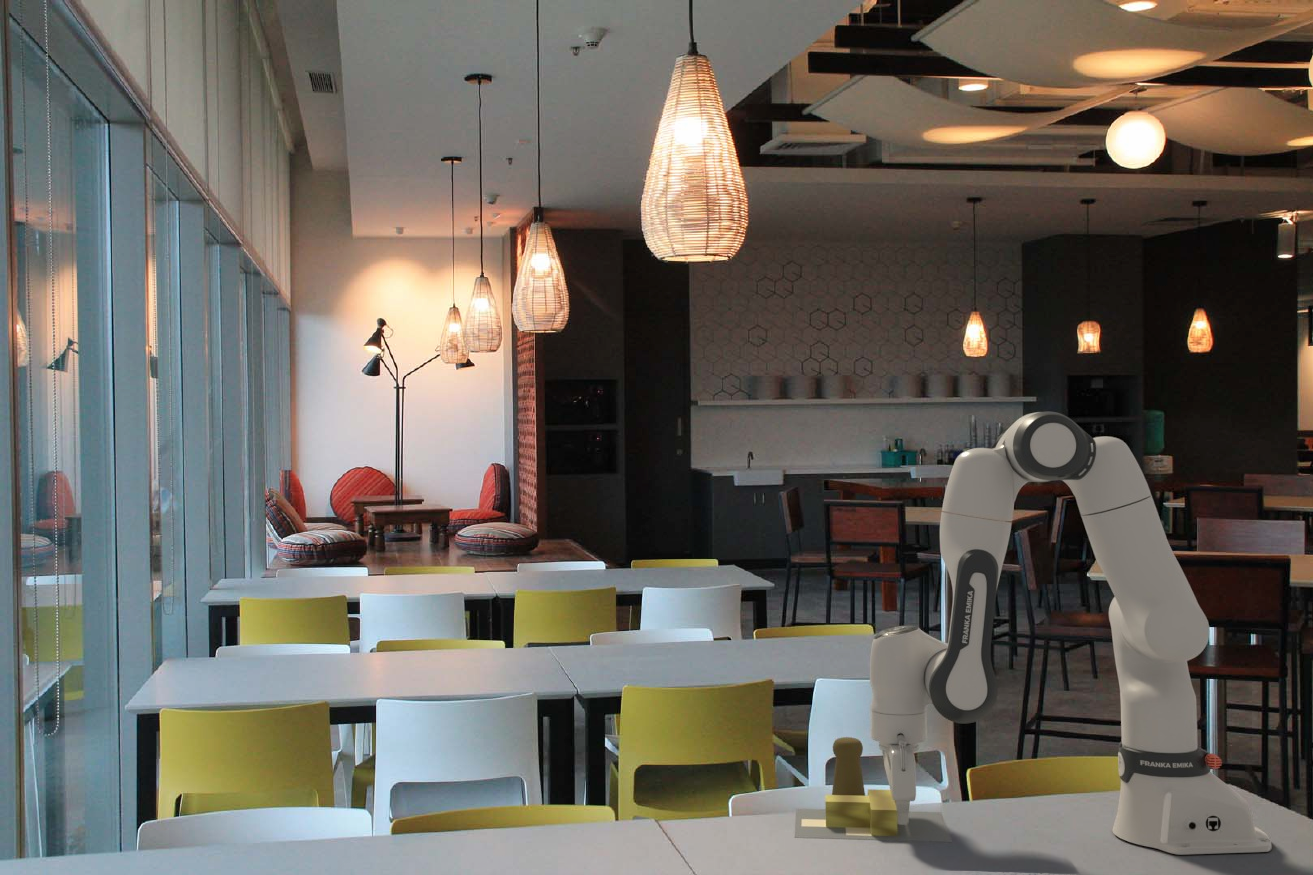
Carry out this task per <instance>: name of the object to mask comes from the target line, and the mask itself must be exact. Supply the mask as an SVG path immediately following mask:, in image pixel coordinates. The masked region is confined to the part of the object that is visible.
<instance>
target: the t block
mask: <svg viewBox="0 0 1313 875" xmlns="http://www.w3.org/2000/svg"><path fill="white" fill-rule="evenodd" d="M824 797H825V798H824V799H825V800H824V802H825V803H824V804H825V806H824V807H825V809H826V827H856V828H870V829H871V835H873V836H898V834H897V810H896V804H895V801H894V800H893V799H892V795H891V791H890V789H874V788H873V789H871V788H869V789H867V795H865V796H855V795H832V794H825V795H824Z"/></svg>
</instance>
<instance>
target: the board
mask: <svg viewBox="0 0 1313 875" xmlns="http://www.w3.org/2000/svg"><path fill="white" fill-rule="evenodd" d="M794 823H795V824H794V838H795V839H796V838H797V839H825V840H827V839H828V840H830V839H831V840H858V841H859V840H862V841H867V840H868V841H900V842H903V841H905V842H929V843H930V842H931V843H932V842H933V843H939V842H940V843H953V839H952V836H951V835H950V832H949V830H948V826H947V823H946V821H945V819H944V816H943V813H942V812H941V811H911V810H909V822H908V824H906V825H901V824H898V823H897V834H898V836H873V835H871V829H870V828H856V827H826V808H825V809H823V808H822V809H821V808H795V822H794Z"/></svg>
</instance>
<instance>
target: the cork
mask: <svg viewBox="0 0 1313 875" xmlns="http://www.w3.org/2000/svg"><path fill="white" fill-rule="evenodd" d="M863 750H864V747H863V744H862V742H861V740H859V739H858V738H855V737H850V736H845V737H839V738H837V739H836V738H835V740H834V742H833V744H832V752H833V754H834V756H835V766H834V772H833V773H834V774H833V783H832V792H831V795H855V796H866V793H865V792H866V791H865V783H864V778H863V777H864V776H863V773H862V765H861V756H862V755H863Z"/></svg>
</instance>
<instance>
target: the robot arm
mask: <svg viewBox="0 0 1313 875" xmlns="http://www.w3.org/2000/svg"><path fill="white" fill-rule="evenodd" d="M1051 481H1062V482H1064V483H1065V484H1066V485H1067V486H1068V487H1069V489H1070V491H1071V492H1072V494H1073V496H1074V497H1075V500H1076V504H1077V507H1078V510H1079V514H1080V517H1081V519H1082V522H1083V525H1084V528H1085V531H1086V534H1087V537H1088V541H1089V542H1090V546H1091V549H1092V551H1093V555H1094V558H1095V559H1096V560H1095V561H1096V563H1097V564H1098V566H1099V569H1100V570H1101V571H1102V573H1103V575H1104V577H1105V579H1106V581H1107V583H1108V586H1109V587H1110V590H1111V592H1112V593H1113V595H1114V597H1113V598H1112V600H1111V602H1110V605H1109V608H1108V620H1109V623H1110V628H1111V636H1112V637H1111V638H1112V646H1113V654H1114V662H1115V667H1116V673H1117V680H1118V684H1119V695H1120V696H1119V697H1120V722H1121V723H1120V728H1121V732H1120V733H1121V741H1120V742H1119V743H1118V752H1117V759H1118V760H1117V761H1118V762H1117V763H1118V766H1117V768H1118V775H1119V778H1120V788H1119V789H1120V790H1119V800H1118V806H1117V812H1116V816H1115V820H1114V824H1113V827H1112V833H1113V834H1114V835H1115V836H1116V837H1118V838H1120V839H1121V840H1124V841H1127V842H1129V843H1132V844H1136V845H1139V846H1142V847H1143V846H1144V847H1148V848H1153V849H1157V850H1160V851H1163V852H1166V853H1169V854H1174V855H1183V856H1184V855H1205V854H1206V855H1207V854H1210V855H1211V854H1237V853H1239V854H1240V853H1241V854H1242V853H1243V854H1244V853H1265V852H1270V851H1271V850H1272V848H1273V847H1272V840H1271V838H1270V837H1269V836H1268V834H1267V833H1266V832H1264V831H1263V830H1261V829H1260V828H1258V827H1257V826H1255V822H1254V816H1253V814H1252V810H1251V808H1250V805H1249V803H1248V802H1247V801H1246V799H1245V798H1244V797H1243V796H1241V795H1240V794H1239V793H1238V792H1237V791H1236V790H1235V789H1234V788H1232V787H1230V786H1229V784H1228V783H1226V782H1224V781H1223V780H1222V779H1220V778H1219V777H1217V775H1215V774H1214V773H1212V772H1211V770H1212V769H1213V770H1218V769H1220V768H1221V767H1220V766H1222V763H1223V762H1222V759H1221V758H1220V757H1219V756H1218V755H1216V754H1215V753H1213V752H1212V753H1210V752H1209V751H1207V750H1205V749H1203V748H1201V747H1200V746H1198V712H1197V711H1198V710H1197V706H1198V705H1197V696H1196V693H1195V690H1194V687H1193V684H1192V680H1191V676H1190V672H1189V671H1190V670H1189V666H1188V661H1190V660H1192V659H1194V658H1196V657H1198V656H1199V655H1200V654H1201V653H1202V652H1203V651H1204V649H1206V646H1207V645H1208V644H1209V643H1208V642H1209V638H1210V632H1211V630H1210V625H1209V620H1208V619H1207V616H1206V614H1205V613H1204V611H1203V609H1202V608H1201V606H1200V604H1199V603H1198V600H1197V597H1196V595H1195V594H1194V591H1193V590H1192V587H1191V584H1190V583H1189V581H1188V579H1187V577H1186V575H1185V573H1184V571H1183V569H1182V567H1181V565H1180V563H1179V561H1178V560H1177V558H1176V556H1175V553H1174V551H1173V550H1172V547H1171V546H1170V543H1169V541H1168V539H1167V535H1166V532H1165V530H1164V527H1163V525H1162V521H1161V519H1160V516H1159V512H1158V509H1157V507H1156V504H1155V501H1154V498H1153V495H1152V493H1151V489H1150V487H1149V484H1148V482H1147V480H1146V478H1145V475H1144V473H1143V470H1142V469H1141V467H1140V464H1139V463H1138V461H1137V459H1136V457H1135V456H1134V454H1133V452H1132V451H1131V449H1130V447H1129V446H1128V444H1127V443H1126V442H1124V440H1122V439H1120V438H1117V437H1114V436H1107V435H1106V436H1095V437H1092V436H1091V435H1090V434H1089V433H1087V432H1086V431H1085V430H1084V429H1083V428H1082V427H1080V426H1079V425H1078V424H1077V423H1076V422H1075V421H1074V420H1072V419H1071V418H1070V417H1068V416H1066V415H1065V414H1063V413H1059V412H1055V411H1048V410H1047V411H1037V412H1032V413H1027V414H1025V415H1023V416H1021V417H1020V418H1018V419H1017V420H1015V421H1013V422H1011V423H1010V424H1009V425H1008V426H1007V427H1006V428H1005V429H1004V430H1003V431H1002V432H1001V434H1000V435H999V437H998V438H997V439H996V440H995V442H993V444H992V445H991V446H990V448H987V447H974V448H971V449H968V450H964V451H963V452H961V453H960V454H959V455H957V457H956V458H955V460H954V463H953V465H952V468H951V472H950V475H949V477H948V481H947V485H946V488H945V492H944V498H943V500H942V502H943V503H942V508H941V513H940V521H939V550H940V555H941V558H942V561H943V562H944V565H945V568H946V570H947V572H948V574H949V578H950V581H951V582H950V584H951V588H952V604H951V605H952V606H951V615H950V622H949V630H948V631H949V632H948V640H947V642H944V641H942V640H939V639H938V638H936V637H934V636H932V635H929V634H928V633H927V632H924V631H923V630H921V628H920V627H918V626H916V625H898V626H893V627H887V628H886V629H883V630H881V631H879V632H878V633H877V634H876V635H875V636H874V638H873V640H872V642H871V648H870V657H869V683H870V687H871V690H872V700H871V703H870V739H872V740H873V741H875V742H878V748H879V750H880V751H881V753H882V760H883V764H884V766H883V767H884V769H885V773H886V777H887V782H888V786H889V790H890V791H891V795H892V799H893V800H894V801H895V804H896V810H897V823H898V824H901V825H906V824H908V822H909V811H910V805H911V804H910V802H914V801H916V797H917V783H916V782H917V780H916V776H917V774H916V759H915V753H916V752H918V751H919V750H920V743H924V742H926V741H927V739H928V732H927V730H928V728H927V727H928V726H927V725H928V724H927V706H928V705H933V706H934V708H935V709H936V711H937V712H938V714H940V715H941V716H942V717H944V718H945V719H947V720H948V721H950V722H952V723H957V724H963V725H964V724H971V723H973V724H974V723H976V722H979V721H981V720H982V719H984V718H986V716H988V715H989V714H990V713H991V712H992V710H993V708H994V707H995V705H996V703H997V700H998V694H999V687H998V682H997V677H996V674H995V672H994V668H993V667H994V666H993V664H992V659H991V650H992V649H991V648H992V646H991V645H992V636H993V630H994V629H993V628H994V627H993V626H994V618H995V608H996V600H997V599H996V598H997V590H998V585H999V582H1000V576H1001V573H1002V569H1003V566H1004V565H1003V564H1004V563H1005V562H1004V561H1005V557H1006V554H1007V551H1008V546H1009V541H1010V537H1011V536H1010V534H1011V531H1012V530H1011V529H1012V523H1013V516H1014V506H1015V502H1016V499H1017V496H1018V493H1020V490H1021V489H1022V487H1023V486H1025V485H1026V484H1028V483H1031V482H1032V483H1034V482H1035V483H1046V482H1047V483H1048V482H1051Z"/></svg>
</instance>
